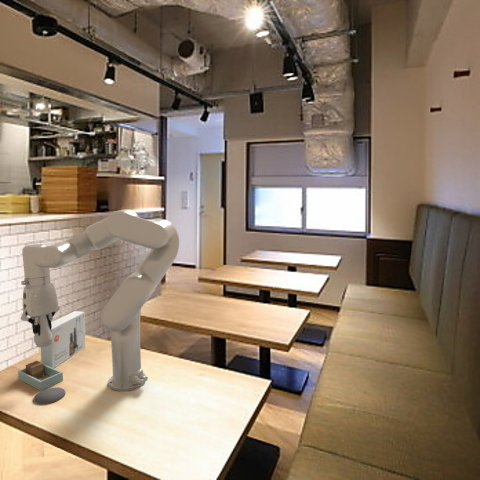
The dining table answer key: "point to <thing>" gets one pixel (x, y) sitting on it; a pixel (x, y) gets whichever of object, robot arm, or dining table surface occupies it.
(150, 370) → the dining table surface
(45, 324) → the salt shaker
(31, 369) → the walnut block
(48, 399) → the coaster
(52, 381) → the tray
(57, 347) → the skincare box
